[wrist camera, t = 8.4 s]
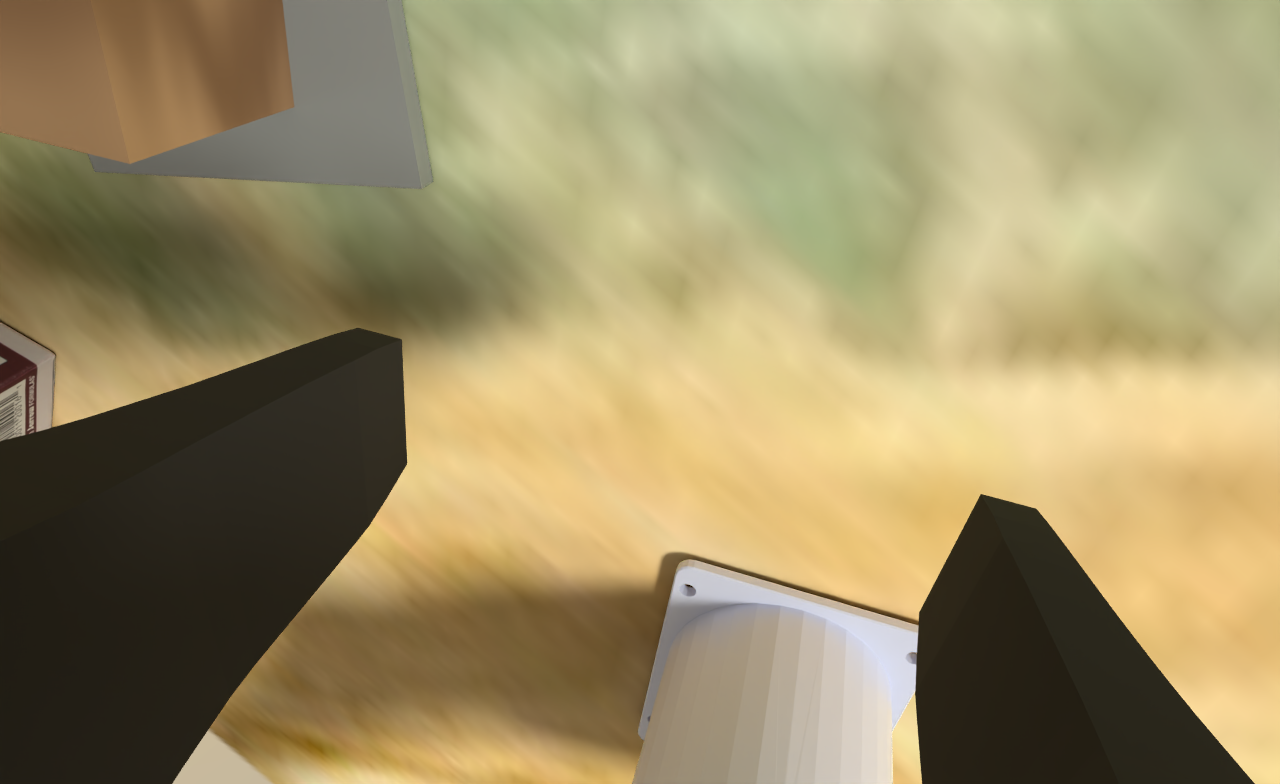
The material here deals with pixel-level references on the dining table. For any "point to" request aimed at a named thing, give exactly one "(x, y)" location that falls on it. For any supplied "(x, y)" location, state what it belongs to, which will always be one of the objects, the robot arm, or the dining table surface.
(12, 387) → the supplement box
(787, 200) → the dining table surface
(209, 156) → the slate coaster
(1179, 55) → the dining table surface
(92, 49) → the walnut cube
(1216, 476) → the dining table surface
